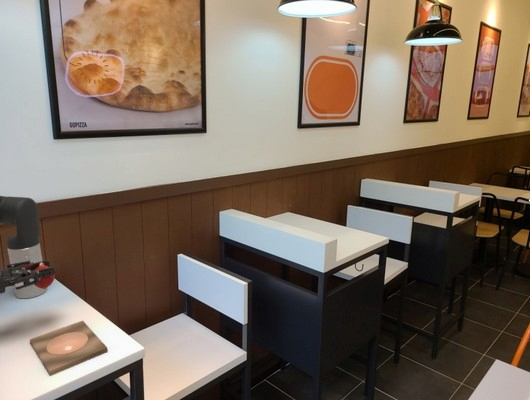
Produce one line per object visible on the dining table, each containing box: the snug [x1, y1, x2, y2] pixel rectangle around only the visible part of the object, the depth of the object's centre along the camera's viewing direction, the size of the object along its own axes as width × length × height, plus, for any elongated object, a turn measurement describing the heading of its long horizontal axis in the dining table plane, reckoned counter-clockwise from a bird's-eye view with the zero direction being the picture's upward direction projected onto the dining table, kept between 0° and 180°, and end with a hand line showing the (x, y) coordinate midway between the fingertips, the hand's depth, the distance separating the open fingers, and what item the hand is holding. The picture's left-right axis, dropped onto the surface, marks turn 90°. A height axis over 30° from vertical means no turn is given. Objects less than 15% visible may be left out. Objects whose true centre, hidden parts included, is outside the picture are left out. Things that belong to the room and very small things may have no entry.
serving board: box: [29, 320, 109, 377], centre depth 110 cm, size 18×14×1 cm
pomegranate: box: [34, 263, 56, 289], centre depth 118 cm, size 6×6×8 cm
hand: (51, 267), depth 119 cm, fingers closed on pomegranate, 5 cm apart
